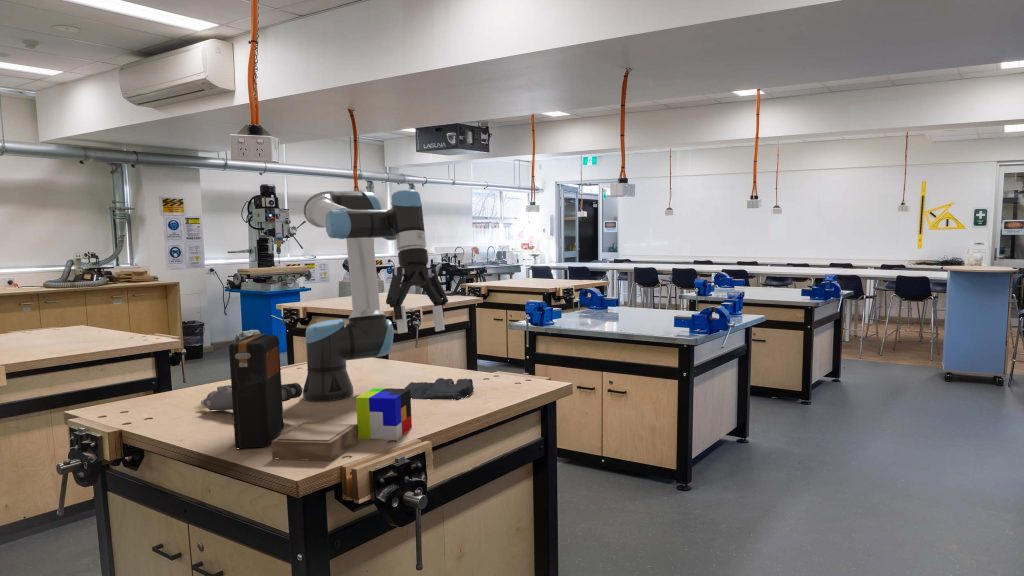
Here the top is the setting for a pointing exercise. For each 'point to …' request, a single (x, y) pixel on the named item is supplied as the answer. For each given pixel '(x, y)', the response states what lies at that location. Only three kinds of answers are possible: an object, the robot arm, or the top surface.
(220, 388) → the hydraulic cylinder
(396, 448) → the top surface
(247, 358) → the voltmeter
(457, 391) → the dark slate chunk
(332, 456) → the plinth
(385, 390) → the puzzle toy
